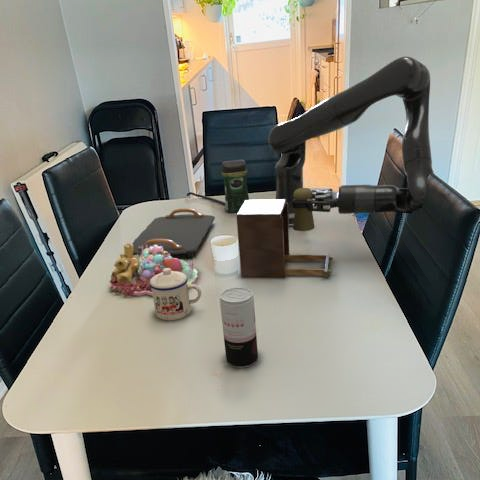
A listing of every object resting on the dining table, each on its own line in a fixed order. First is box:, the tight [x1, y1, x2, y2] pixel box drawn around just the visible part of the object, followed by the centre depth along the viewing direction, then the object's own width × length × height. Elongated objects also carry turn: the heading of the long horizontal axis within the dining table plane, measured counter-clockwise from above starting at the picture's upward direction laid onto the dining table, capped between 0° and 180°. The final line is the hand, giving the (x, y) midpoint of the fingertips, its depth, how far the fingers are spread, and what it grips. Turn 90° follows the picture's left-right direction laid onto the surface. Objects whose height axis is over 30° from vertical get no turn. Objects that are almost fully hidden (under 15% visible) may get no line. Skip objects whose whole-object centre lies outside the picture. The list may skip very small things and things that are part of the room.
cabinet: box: [235, 198, 291, 279], centre depth 137 cm, size 12×13×18 cm
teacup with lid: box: [150, 268, 202, 321], centre depth 120 cm, size 12×9×12 cm
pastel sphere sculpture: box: [109, 243, 199, 297], centre depth 139 cm, size 25×24×9 cm
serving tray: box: [131, 207, 216, 259], centre depth 166 cm, size 39×23×6 cm, turn 172°
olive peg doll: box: [292, 187, 315, 232], centre depth 137 cm, size 6×6×11 cm
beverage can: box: [219, 287, 259, 369], centre depth 98 cm, size 7×7×15 cm
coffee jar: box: [221, 159, 250, 213], centre depth 189 cm, size 10×8×19 cm
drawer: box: [284, 252, 334, 278], centre depth 139 cm, size 14×13×2 cm
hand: (293, 200), depth 137 cm, fingers closed on olive peg doll, 5 cm apart
